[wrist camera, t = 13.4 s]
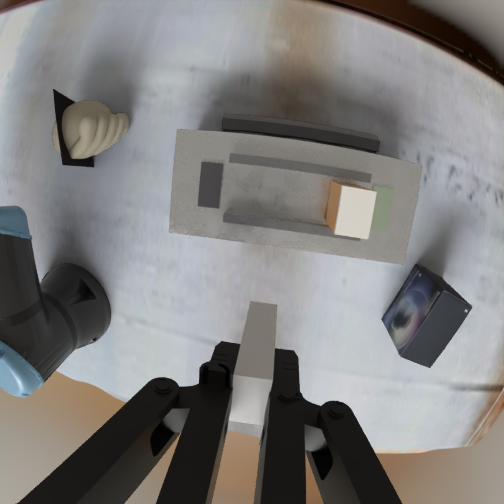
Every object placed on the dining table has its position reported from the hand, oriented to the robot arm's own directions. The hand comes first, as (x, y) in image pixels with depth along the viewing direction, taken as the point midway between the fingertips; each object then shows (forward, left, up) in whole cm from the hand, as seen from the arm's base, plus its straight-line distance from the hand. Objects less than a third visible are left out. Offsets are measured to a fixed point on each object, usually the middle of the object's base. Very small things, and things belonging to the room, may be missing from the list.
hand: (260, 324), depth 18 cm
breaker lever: (+7, +5, -18) cm, 20 cm away
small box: (+23, -8, -27) cm, 36 cm away
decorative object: (-26, +12, -27) cm, 39 cm away
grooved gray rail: (+2, +13, -26) cm, 30 cm away
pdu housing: (+2, +6, -26) cm, 27 cm away
